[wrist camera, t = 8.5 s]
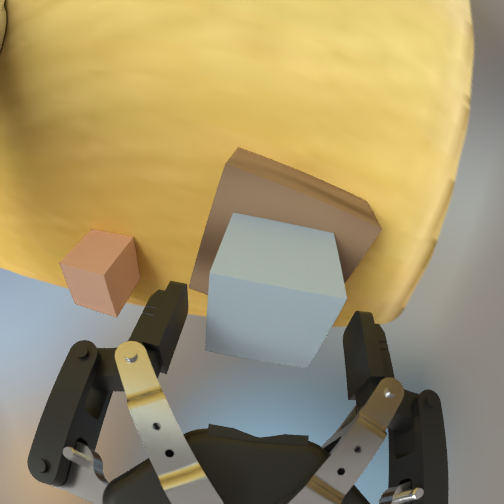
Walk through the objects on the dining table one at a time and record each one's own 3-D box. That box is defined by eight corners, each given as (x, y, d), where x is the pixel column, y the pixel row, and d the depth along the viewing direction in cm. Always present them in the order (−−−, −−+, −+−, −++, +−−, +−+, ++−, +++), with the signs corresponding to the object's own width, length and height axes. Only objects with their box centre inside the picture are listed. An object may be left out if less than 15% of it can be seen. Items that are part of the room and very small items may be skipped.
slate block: (233, 212, 15) (209, 272, 11) (333, 233, 14) (346, 298, 10) (223, 287, 18) (205, 350, 14) (306, 303, 18) (307, 368, 14)
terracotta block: (92, 228, 21) (59, 263, 17) (134, 236, 21) (103, 275, 17) (101, 268, 24) (75, 303, 20) (140, 277, 24) (117, 317, 20)
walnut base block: (239, 145, 16) (225, 164, 13) (365, 199, 17) (381, 229, 14) (203, 253, 22) (188, 287, 18) (308, 290, 22) (309, 328, 19)
